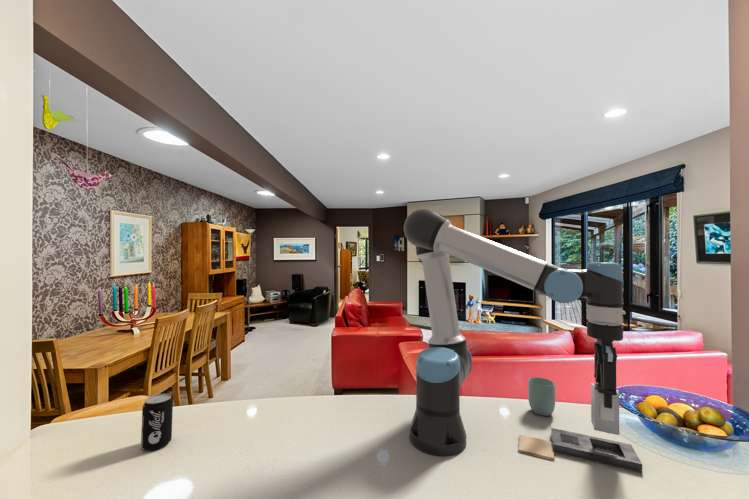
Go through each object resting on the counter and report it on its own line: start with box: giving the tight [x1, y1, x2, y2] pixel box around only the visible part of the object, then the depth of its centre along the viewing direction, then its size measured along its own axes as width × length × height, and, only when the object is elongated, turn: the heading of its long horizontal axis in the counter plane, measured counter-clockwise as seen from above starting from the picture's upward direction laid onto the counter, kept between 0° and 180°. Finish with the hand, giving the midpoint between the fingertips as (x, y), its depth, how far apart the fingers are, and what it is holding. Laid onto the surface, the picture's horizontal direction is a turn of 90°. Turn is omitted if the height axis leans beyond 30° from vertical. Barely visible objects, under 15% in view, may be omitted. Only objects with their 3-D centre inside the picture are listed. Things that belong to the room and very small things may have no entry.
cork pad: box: [518, 434, 555, 462], centre depth 83 cm, size 8×8×1 cm
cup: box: [527, 376, 556, 416], centre depth 103 cm, size 8×8×10 cm
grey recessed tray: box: [550, 427, 643, 474], centre depth 82 cm, size 18×9×2 cm, turn 64°
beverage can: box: [140, 393, 174, 452], centre depth 83 cm, size 7×7×12 cm
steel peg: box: [590, 382, 620, 436], centre depth 81 cm, size 5×5×10 cm
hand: (604, 414), depth 81 cm, fingers closed on steel peg, 5 cm apart
